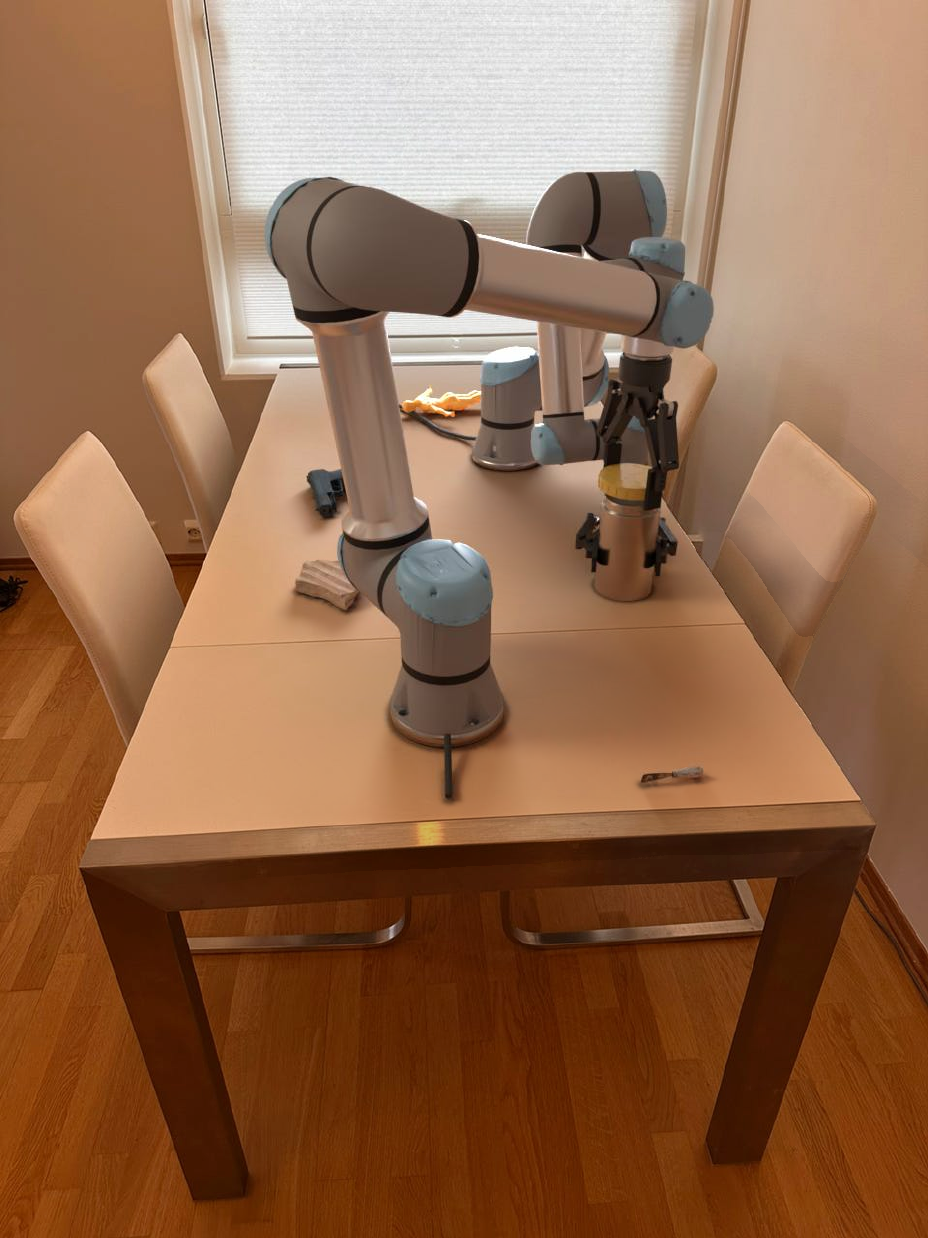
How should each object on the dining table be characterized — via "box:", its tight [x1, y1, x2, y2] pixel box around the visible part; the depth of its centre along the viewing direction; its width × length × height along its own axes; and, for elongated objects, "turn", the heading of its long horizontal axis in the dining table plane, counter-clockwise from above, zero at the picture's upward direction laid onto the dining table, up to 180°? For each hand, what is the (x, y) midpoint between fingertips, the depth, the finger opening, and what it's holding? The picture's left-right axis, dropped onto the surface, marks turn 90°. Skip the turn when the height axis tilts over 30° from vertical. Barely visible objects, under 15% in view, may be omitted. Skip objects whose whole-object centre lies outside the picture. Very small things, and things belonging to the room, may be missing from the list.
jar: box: [593, 492, 662, 602], centre depth 145 cm, size 9×9×17 cm
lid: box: [597, 463, 666, 501], centre depth 139 cm, size 10×10×2 cm
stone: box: [294, 559, 360, 611], centre depth 149 cm, size 13×12×3 cm
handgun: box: [305, 468, 346, 518], centre depth 180 cm, size 3×18×12 cm
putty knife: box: [640, 765, 705, 784], centre depth 109 cm, size 1×8×2 cm, turn 103°
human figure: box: [401, 385, 481, 418], centre depth 225 cm, size 20×20×4 cm
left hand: (630, 495), depth 141 cm, fingers closed on lid, 10 cm apart
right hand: (626, 566), depth 143 cm, fingers closed on jar, 9 cm apart
